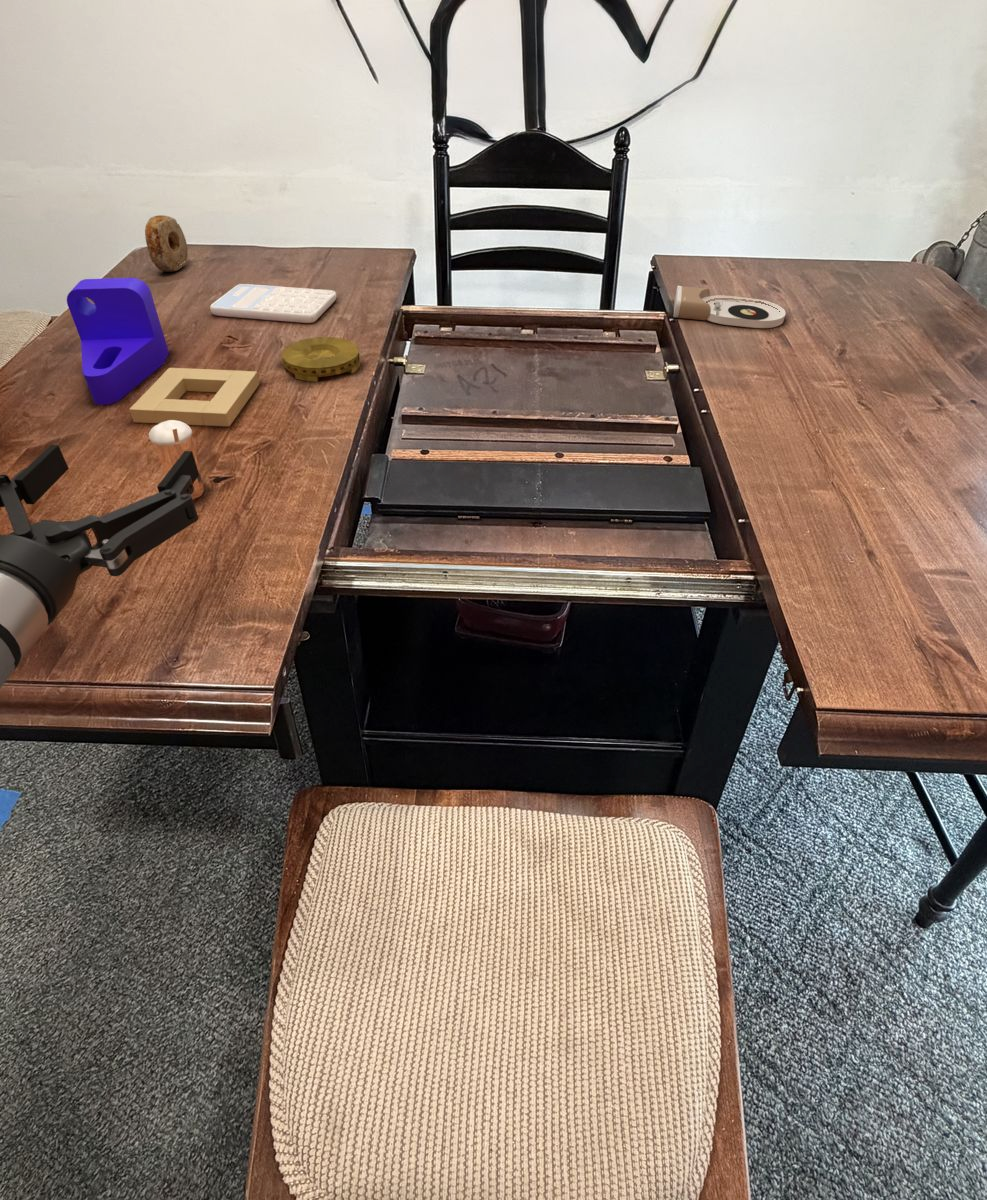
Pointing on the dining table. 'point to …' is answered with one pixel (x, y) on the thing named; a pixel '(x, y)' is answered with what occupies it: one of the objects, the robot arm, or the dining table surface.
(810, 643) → the dining table surface
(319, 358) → the olive flat round disc
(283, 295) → the calculator
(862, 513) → the dining table surface
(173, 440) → the milkshake
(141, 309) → the bracket
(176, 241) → the stone disc
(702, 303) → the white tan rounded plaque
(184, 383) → the square frame
